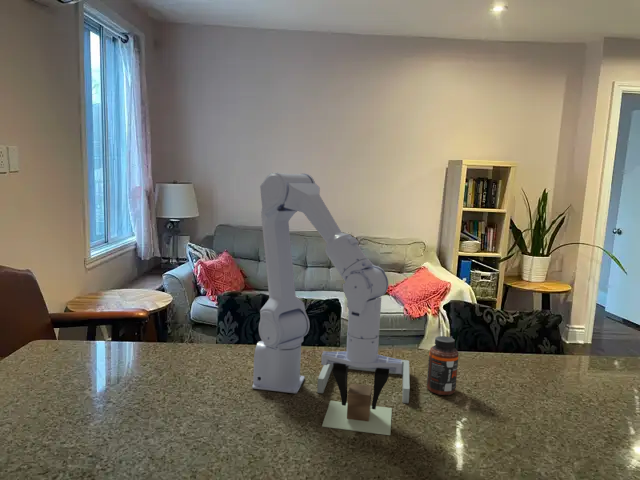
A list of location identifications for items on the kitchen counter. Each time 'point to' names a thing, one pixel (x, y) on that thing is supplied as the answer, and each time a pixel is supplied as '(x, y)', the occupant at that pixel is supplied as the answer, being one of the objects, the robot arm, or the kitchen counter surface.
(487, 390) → the kitchen counter surface
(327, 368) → the u-shaped barrier
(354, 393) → the block
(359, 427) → the mat
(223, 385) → the kitchen counter surface
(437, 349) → the supplement bottle
